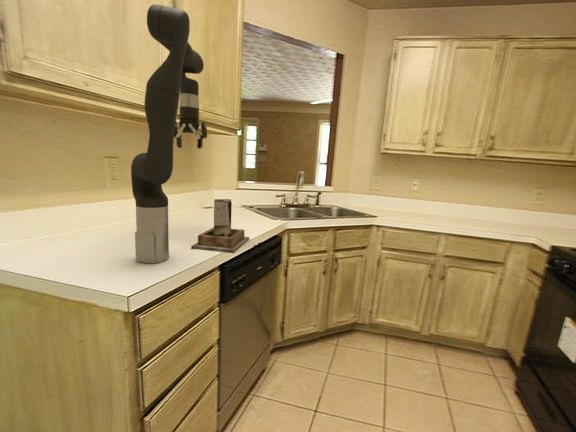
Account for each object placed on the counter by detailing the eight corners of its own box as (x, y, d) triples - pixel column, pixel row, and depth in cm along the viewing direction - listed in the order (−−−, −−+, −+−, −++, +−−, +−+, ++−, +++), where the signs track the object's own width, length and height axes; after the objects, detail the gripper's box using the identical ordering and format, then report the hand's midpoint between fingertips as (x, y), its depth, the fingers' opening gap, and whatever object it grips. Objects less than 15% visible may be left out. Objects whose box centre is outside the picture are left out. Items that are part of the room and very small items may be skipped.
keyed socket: (249, 239, 128) (249, 228, 127) (233, 253, 109) (234, 240, 108) (212, 235, 130) (212, 225, 130) (191, 248, 111) (191, 236, 110)
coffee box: (230, 244, 116) (231, 202, 113) (213, 244, 114) (213, 201, 111) (230, 238, 124) (231, 198, 121) (213, 238, 123) (214, 198, 120)
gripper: (209, 109, 126) (209, 149, 129) (177, 108, 128) (177, 147, 131) (202, 106, 119) (201, 148, 122) (168, 104, 121) (168, 146, 124)
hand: (189, 148), depth 127 cm, fingers open, 8 cm apart
